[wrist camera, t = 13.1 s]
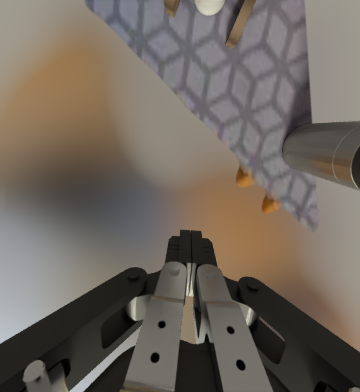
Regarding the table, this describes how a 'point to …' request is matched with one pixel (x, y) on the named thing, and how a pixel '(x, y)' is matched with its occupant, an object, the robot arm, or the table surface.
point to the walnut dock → (172, 4)
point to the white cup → (209, 6)
